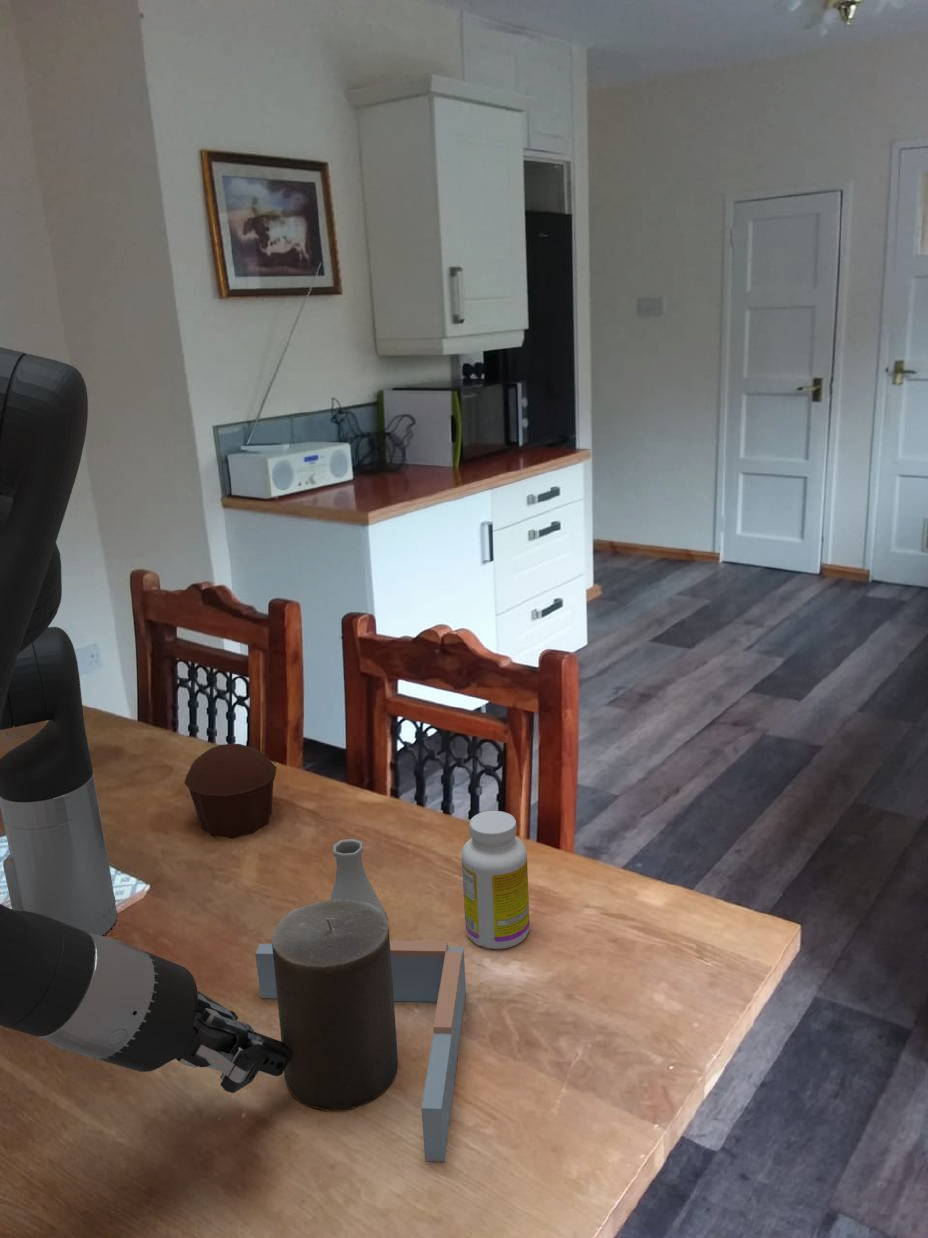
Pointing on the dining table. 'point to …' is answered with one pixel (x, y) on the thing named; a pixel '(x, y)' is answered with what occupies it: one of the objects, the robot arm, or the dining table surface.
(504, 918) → the supplement bottle
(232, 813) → the muffin
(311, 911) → the pillar candle
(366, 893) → the flask
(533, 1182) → the dining table surface
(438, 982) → the corner arena
